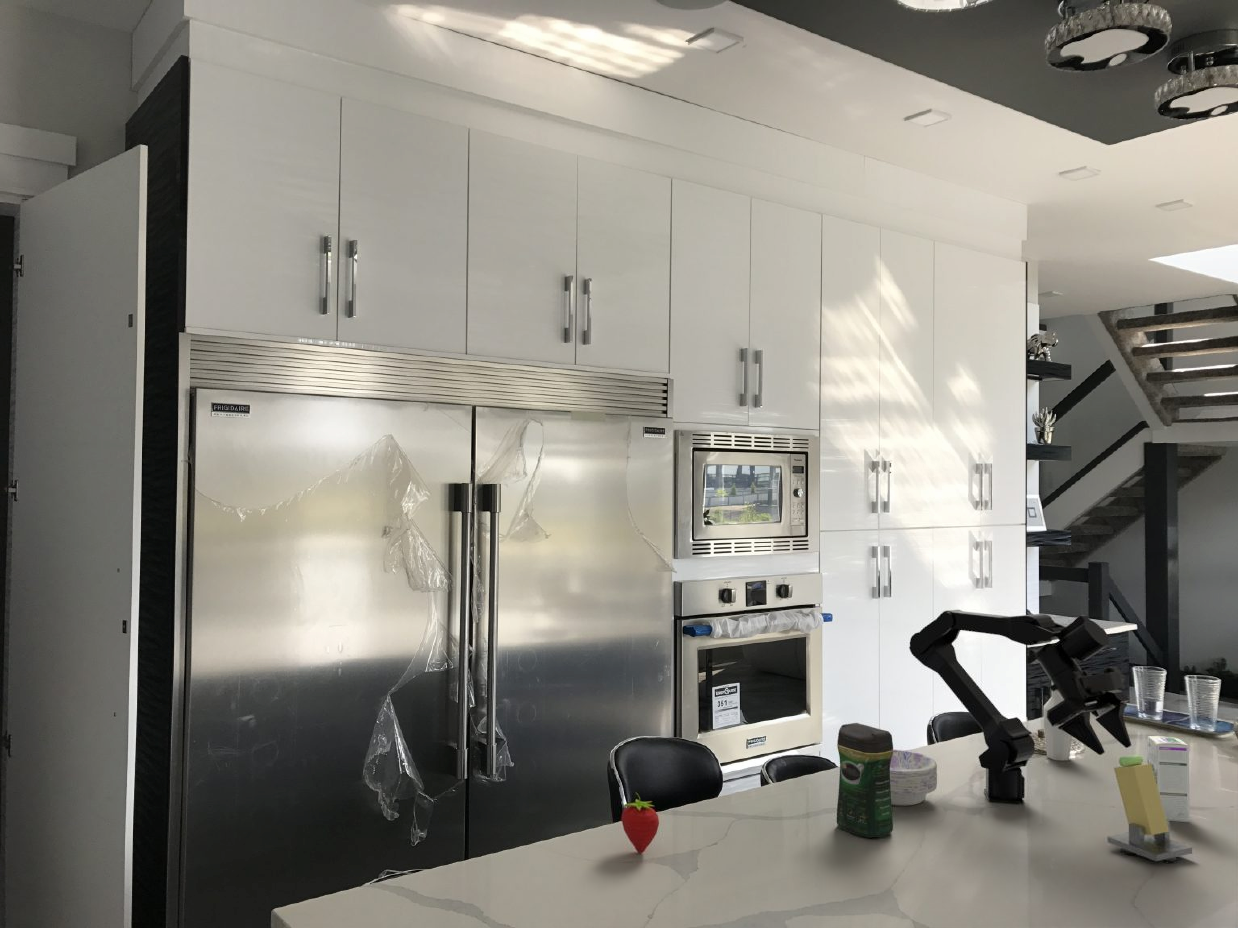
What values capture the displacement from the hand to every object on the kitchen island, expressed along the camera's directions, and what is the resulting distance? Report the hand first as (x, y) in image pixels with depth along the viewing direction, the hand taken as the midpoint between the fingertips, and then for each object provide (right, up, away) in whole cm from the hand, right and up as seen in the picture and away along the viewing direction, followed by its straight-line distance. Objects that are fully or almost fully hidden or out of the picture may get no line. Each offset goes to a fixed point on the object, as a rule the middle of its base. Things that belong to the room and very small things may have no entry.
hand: (1115, 750), depth 173 cm
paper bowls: (-35, -15, +16) cm, 41 cm away
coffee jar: (-46, -14, -2) cm, 48 cm away
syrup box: (+15, -15, +9) cm, 23 cm away
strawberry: (-87, -13, -14) cm, 89 cm away
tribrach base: (0, -14, -11) cm, 18 cm away
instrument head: (0, -10, -10) cm, 15 cm away
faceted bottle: (+12, -16, +48) cm, 52 cm away
